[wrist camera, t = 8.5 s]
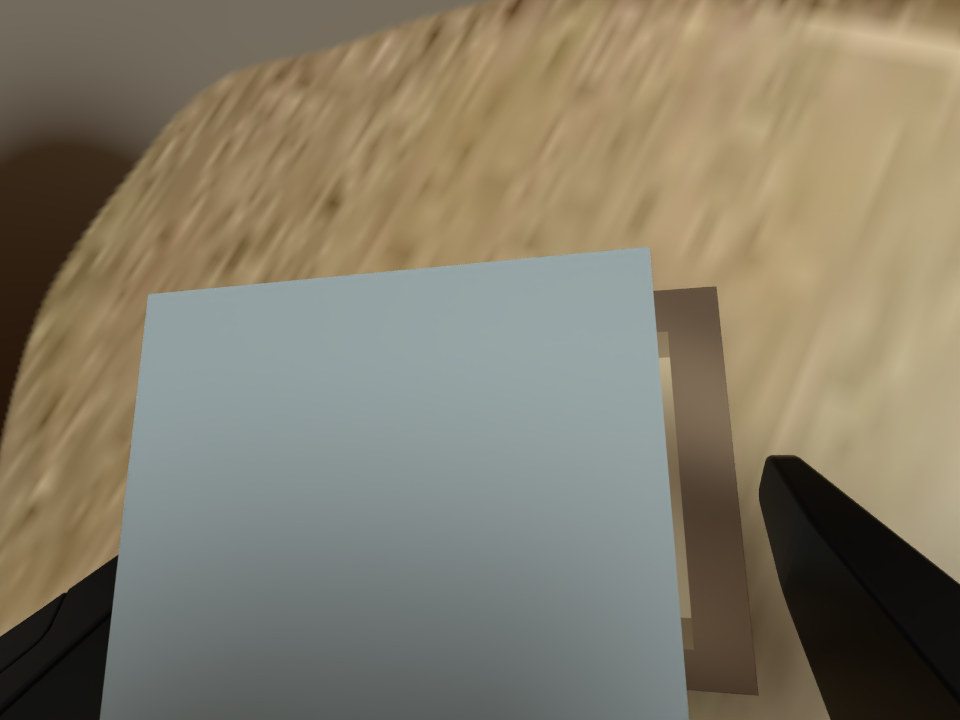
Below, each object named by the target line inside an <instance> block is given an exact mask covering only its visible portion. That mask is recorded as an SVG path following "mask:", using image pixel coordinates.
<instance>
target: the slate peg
mask: <svg viewBox="0 0 960 720" xmlns="http://www.w3.org/2000/svg"><path fill="white" fill-rule="evenodd" d="M100 720H689V713H688V701H687V689H686V677H685V665H684V653H683V641H682V629H681V617H680V605H679V593H678V581H677V569H676V557H675V545H674V533H673V522H672V510H671V498H670V486H669V474H668V462H667V450H666V438H665V426H664V414H663V402H662V390H661V378H660V366H659V354H658V342H657V330H656V318H655V306H654V294H653V283H652V271H651V259H650V247H642V248H631V249H621V250H610V251H600V252H589V253H579V254H568V255H557V256H547V257H536V258H526V259H515V260H505V261H494V262H484V263H473V264H463V265H452V266H442V267H431V268H421V269H410V270H400V271H389V272H379V273H368V274H358V275H347V276H336V277H326V278H315V279H305V280H294V281H284V282H273V283H263V284H252V285H242V286H231V287H221V288H210V289H200V290H189V291H179V292H168V293H158V294H148V302H147V311H146V320H145V328H144V337H143V346H142V355H141V363H140V372H139V381H138V390H137V398H136V407H135V416H134V425H133V433H132V442H131V451H130V459H129V468H128V477H127V486H126V494H125V503H124V512H123V521H122V529H121V538H120V547H119V556H118V564H117V573H116V582H115V591H114V599H113V608H112V617H111V626H110V634H109V643H108V652H107V660H106V669H105V678H104V687H103V695H102V704H101V713H100Z"/></svg>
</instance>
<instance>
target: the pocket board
mask: <svg viewBox="0 0 960 720" xmlns="http://www.w3.org/2000/svg"><path fill="white" fill-rule="evenodd" d="M653 294H654V306H655V318H656V330H657V342H658V354H659V366H660V378H661V390H662V402H663V414H664V426H665V438H666V450H667V462H668V474H669V486H670V498H671V510H672V522H673V533H674V545H675V557H676V569H677V581H678V593H679V605H680V617H681V629H682V641H683V653H684V665H685V677H686V689H687V690H696V691H708V692H720V693H732V694H745V695H757V696H759V695H758V686H757V676H756V666H755V657H754V647H753V637H752V628H751V618H750V608H749V598H748V589H747V579H746V569H745V560H744V550H743V540H742V531H741V521H740V511H739V502H738V492H737V482H736V473H735V463H734V453H733V444H732V434H731V424H730V414H729V405H728V395H727V385H726V376H725V366H724V356H723V347H722V337H721V327H720V318H719V308H718V298H717V289H716V287H702V288H689V289H675V290H661V291H653Z"/></svg>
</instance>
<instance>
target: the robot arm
mask: <svg viewBox="0 0 960 720" xmlns="http://www.w3.org/2000/svg"><path fill="white" fill-rule="evenodd" d="M759 501H760V506H761V510H762V514H763V518H764V522H765V526H766V529H767V533H768V537H769V541H770V545H771V549H772V553H773V557H774V561H775V565H776V569H777V573H778V577H779V581H780V584H781V588H782V591H783V594H784V597H785V600H786V603H787V606H788V609H789V611H790V614H791V617H792V619H793V622H794V625H795V627H796V630H797V632H798V635H799V638H800V640H801V643H802V646H803V648H804V651H805V653H806V656H807V659H808V661H809V664H810V667H811V669H812V672H813V674H814V677H815V680H816V682H817V685H818V688H819V690H820V693H821V696H822V698H823V701H824V703H825V706H826V709H827V711H828V714H829V717H830V719H831V720H960V584H959V583H958V582H957V581H955V580H954V579H953V578H952V577H950V576H949V575H948V574H946V573H945V572H944V571H943V570H941V569H940V568H939V567H938V566H936V565H935V564H934V563H932V562H931V561H930V560H929V559H927V558H926V557H925V556H924V555H922V554H921V553H920V552H919V551H917V550H916V549H915V548H913V547H912V546H911V545H910V544H908V543H907V542H906V541H905V540H903V539H902V538H901V537H900V536H898V535H897V534H896V533H894V532H893V531H892V530H891V529H889V528H888V527H887V526H886V525H884V524H883V523H882V522H881V521H879V520H878V519H877V518H875V517H874V516H873V515H872V514H870V513H869V512H868V511H867V510H865V509H864V508H863V507H861V506H860V505H859V504H858V503H856V502H855V501H854V500H853V499H851V498H850V497H849V496H848V495H846V494H845V493H844V492H842V491H841V490H840V489H839V488H837V487H836V486H835V485H834V484H832V483H831V482H830V481H829V480H827V479H826V478H825V477H823V476H822V475H821V474H820V473H818V472H817V471H816V470H815V469H813V468H812V467H811V466H810V465H808V464H807V463H806V462H804V461H803V460H802V459H801V458H799V457H797V456H794V455H771V456H769V457H767V459H766V461H765V465H764V469H763V474H762V478H761V482H760V487H759ZM118 556H119V555H117V556H116V557H114V558H113V559H111V560H110V561H109V562H107V563H106V564H104V565H103V566H101V567H100V568H99V569H97V570H96V571H94V572H93V573H91V574H90V575H89V576H87V577H86V578H84V579H83V580H82V581H80V582H79V583H77V584H76V585H74V586H73V587H72V588H70V589H69V590H68V592H67V593H63V594H61V595H60V596H59V597H57V598H56V599H54V600H53V601H52V602H50V603H49V604H47V605H46V606H44V607H43V608H42V609H40V610H39V611H37V612H36V613H34V614H33V615H31V616H30V617H28V618H27V619H26V620H24V621H23V622H21V623H20V624H18V625H17V626H15V627H14V628H12V629H11V630H9V631H8V632H7V633H5V634H4V635H2V636H0V720H100V713H101V704H102V695H103V687H104V678H105V669H106V660H107V652H108V643H109V634H110V626H111V617H112V608H113V599H114V591H115V582H116V573H117V564H118Z"/></svg>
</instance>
